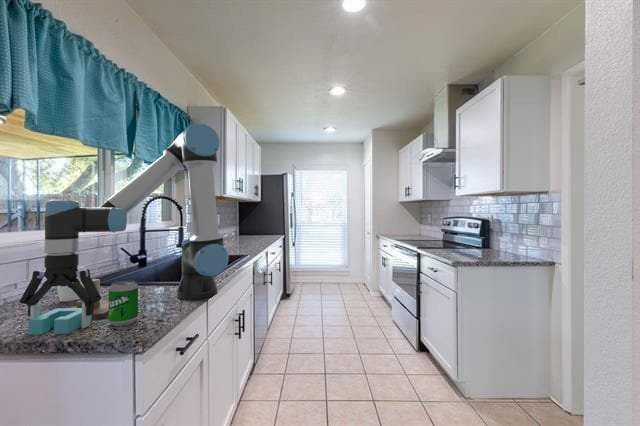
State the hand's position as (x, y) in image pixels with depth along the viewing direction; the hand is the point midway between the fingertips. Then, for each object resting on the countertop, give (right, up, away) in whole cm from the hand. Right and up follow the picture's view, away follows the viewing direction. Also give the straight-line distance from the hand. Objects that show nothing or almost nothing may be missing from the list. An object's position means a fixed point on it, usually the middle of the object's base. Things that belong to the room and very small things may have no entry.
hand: (61, 327), depth 89 cm
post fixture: (-1, 0, +14) cm, 14 cm away
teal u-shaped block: (0, 0, 0) cm, 0 cm away
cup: (-20, 0, +29) cm, 35 cm away
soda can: (+15, 0, +4) cm, 16 cm away
